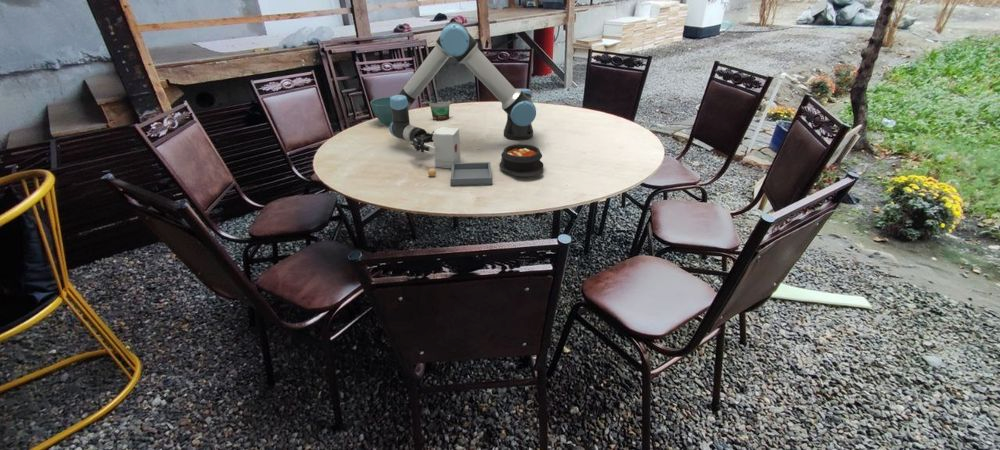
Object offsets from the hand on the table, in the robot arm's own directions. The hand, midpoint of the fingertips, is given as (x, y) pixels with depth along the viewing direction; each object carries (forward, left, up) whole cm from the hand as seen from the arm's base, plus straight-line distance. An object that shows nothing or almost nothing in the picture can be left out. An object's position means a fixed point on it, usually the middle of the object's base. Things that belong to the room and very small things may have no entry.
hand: (447, 146), depth 177 cm
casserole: (-31, +6, -9) cm, 33 cm away
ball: (+6, +11, -8) cm, 15 cm away
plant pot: (+34, -61, -9) cm, 70 cm away
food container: (+6, -66, -9) cm, 67 cm away
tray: (-10, +13, -8) cm, 18 cm away
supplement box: (0, -1, -9) cm, 9 cm away
